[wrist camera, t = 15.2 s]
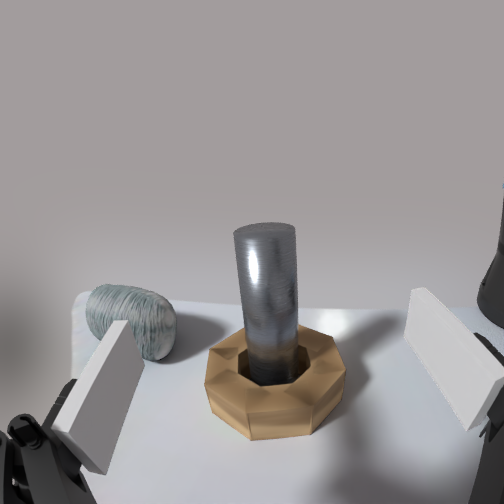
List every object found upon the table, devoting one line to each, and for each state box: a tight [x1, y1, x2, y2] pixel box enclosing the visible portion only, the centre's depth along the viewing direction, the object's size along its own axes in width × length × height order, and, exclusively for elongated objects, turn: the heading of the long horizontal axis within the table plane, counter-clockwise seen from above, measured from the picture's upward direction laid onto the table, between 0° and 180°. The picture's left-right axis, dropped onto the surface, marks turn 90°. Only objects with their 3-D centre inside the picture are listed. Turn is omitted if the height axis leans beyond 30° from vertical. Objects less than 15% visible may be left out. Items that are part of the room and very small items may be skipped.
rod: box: [233, 222, 298, 387], centre depth 24 cm, size 4×4×16 cm
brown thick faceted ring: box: [204, 324, 346, 441], centre depth 26 cm, size 12×12×4 cm
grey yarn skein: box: [86, 284, 177, 361], centre depth 34 cm, size 14×10×10 cm
